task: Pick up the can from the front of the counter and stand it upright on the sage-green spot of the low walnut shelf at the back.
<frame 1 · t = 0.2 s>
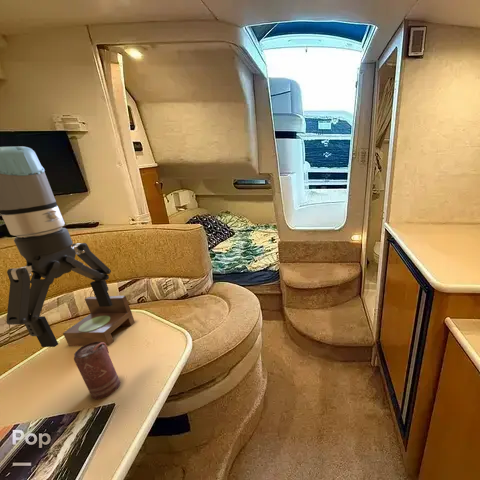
hand: (81, 323, 59), 24 cm above the table, tool pointing down, fingers open, 13 cm apart
can: (108, 391, 71), on the table
shelf: (104, 335, 93), on the table
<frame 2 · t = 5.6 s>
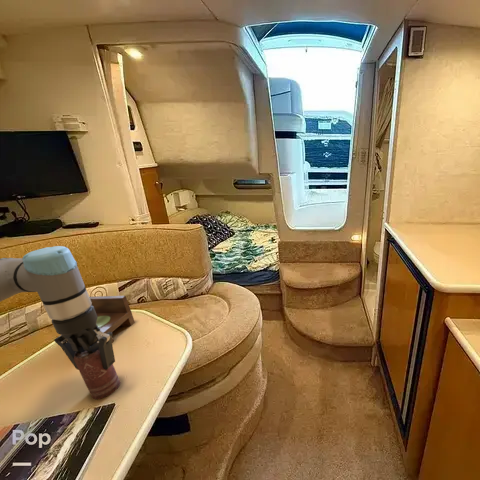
hand: (105, 387, 70), 1 cm above the table, tool pointing down, fingers closed
nothing on the table moved.
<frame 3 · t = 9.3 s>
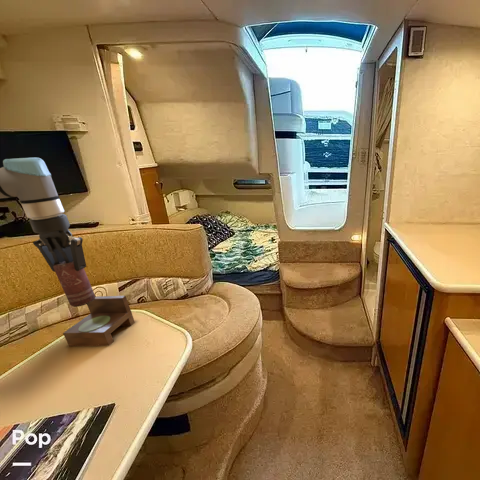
hand: (78, 290, 82), 20 cm above the table, tool pointing down, fingers closed on can
can: (84, 302, 83), point 16 cm above the table, touching gripper, hand
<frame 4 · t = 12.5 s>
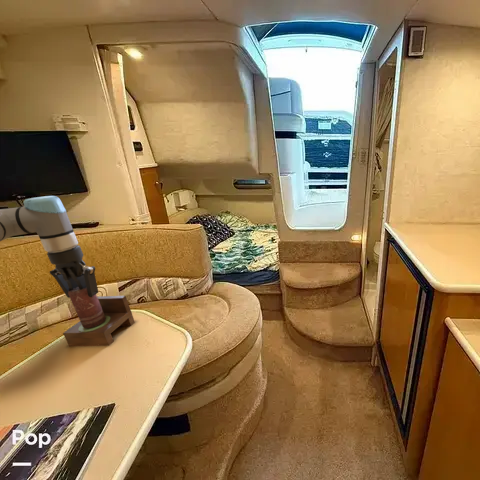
hand: (91, 314, 88), 10 cm above the table, tool pointing down, fingers closed
can: (95, 323, 89), point 6 cm above the table, touching shelf
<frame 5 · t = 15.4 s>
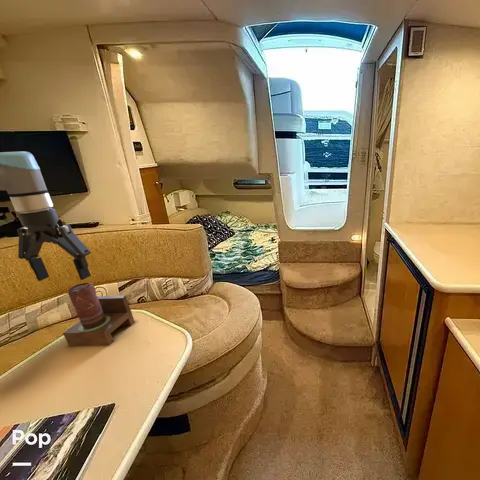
hand: (64, 278, 81), 24 cm above the table, tool pointing down, fingers open, 13 cm apart
nothing on the table moved.
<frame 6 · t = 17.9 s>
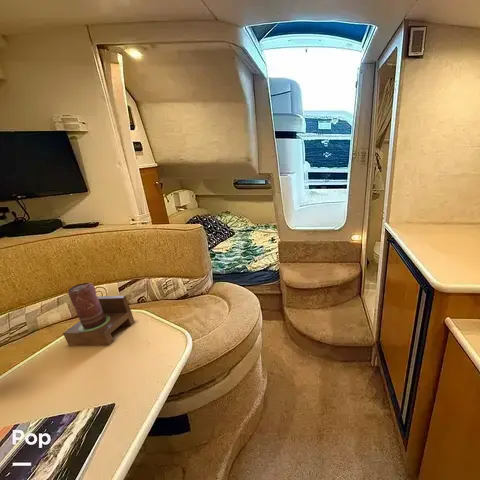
nothing on the table moved.
at the end: can inside the target area on the shelf (0.3 cm from its centre), point 6.0 cm above the shelf's base; can tilted 0°; the gripper is holding nothing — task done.
